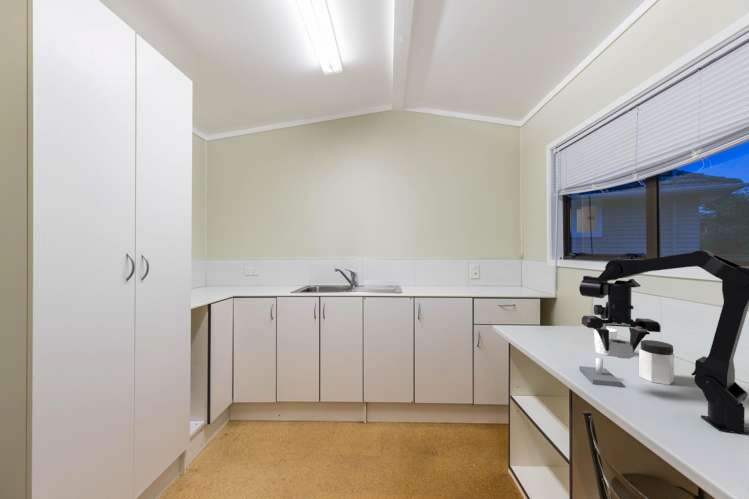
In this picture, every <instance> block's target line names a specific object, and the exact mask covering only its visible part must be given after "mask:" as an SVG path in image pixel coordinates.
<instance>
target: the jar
mask: <svg viewBox="0 0 749 499" xmlns="http://www.w3.org/2000/svg"><path fill="white" fill-rule="evenodd" d="M638 351H639V356H638V357H639V362H638V363H639V367H638V368H639V369H638V370H639V372H638V374H639V375H638V376H639V377H640V378H641V379H644V380H646V381H647V382H650V383H655V384H662V385H668V386H669V385H671V384H673V383H674V382H675V353H674V345H672V344H671V343H667V342H664V341H658V340H652V339H649V340H648V339H645V340H643V339H642V340H641V341H640V348H639V350H638Z"/></svg>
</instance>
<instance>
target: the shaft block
mask: <svg viewBox="0 0 749 499" xmlns="http://www.w3.org/2000/svg"><path fill="white" fill-rule="evenodd" d="M578 368H579V372H580V373H581V374H582V375H583V376H584V377H585V378H586V379H587V381H589V382H590V383H591V385H597V386H606V387H607V386H608V387H609V386H610V387H618V388H622V387H623V386H622V384H623V382H622V381H621V380H620V379H619V378H617V376H615V375H614V374H612V373H611V372H610V371H609V370H608V369H606V368H605V367H604V359H603V358H601V357H596V358H595V367H592V366H583V365H582V366H581V365H580V366H579V367H578Z"/></svg>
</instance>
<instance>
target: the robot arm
mask: <svg viewBox="0 0 749 499" xmlns="http://www.w3.org/2000/svg"><path fill="white" fill-rule="evenodd" d="M690 267H698V268H700V269H702V270H704V271H706V272H707V273H709V274H710V275H712V276H713V277H715V278H718V279H720V280H721V292H722V297H723V304H722V308H721V312H720V314H719V318H718V322H717V325H716V329H715V332H714V335H713V339H712V342H711V347H710V350H709V354H708V356H704V355H703V356H702V357H699V358H698V359H695V362H694V365H695V366H694V367H695V368H694V370H693V372H692V373H691V374H690V375H691V376H694V379H693V381H694V383H695V385H696V386H697V387H698V388H699V389H700V390H701V391H702V393H703V394H704V397H705V399H706V401H707V415H703V414H702V415H700V418H701V419H702V420H704V421H705V422H706V423H708V424H710V425H711V426H712V427H714V428H715V429H716V430H718V431H719V432H720V431H721V432H728V433H729V432H730V433H735V434H736V433H737V434H745V435H746V434H747V435H749V429H748V428H746V426H745V406H744V404H743V403H742V402H744V401H745V400H746V399H747V396H748V395H749V393H748V392H747V391H746V390H745V389H744V388H743V387H741V386H740V385H739V383H737V382H736V369H735V363H734V359H735V354H736V351H737V347H738V345H739V341H740V337H741V334H742V331H743V328H744V323H745V321H746V317H747V313H748V310H749V266H746V265H745V266H744V265H743V266H741V265H740V264H738V263H735V262H733V261H731V260H729V259H726V258H723V257H721V256H718V255H717V254H715V253H713V252H711V251H709V250H696V251H693V252H686V253H679V254H674V255H673V254H672V255H666V256H659V257H658V256H657V257H652V258H644V259H612V260H609V261H607V263H606V264H605V268H604V270H603V271H602V273H600V275H599V276H592V275H584V276H582V280H581V282H580V285H579V288H578V289H579V292H580V295H581V296H583V297H589V298H596V299H604V298H605V297H606V296H607V301H606V302H605V306H603V304H594V305H593V314H594V315H583V316H582V317H581V325H583V326H584V327H586V328H589V329H593V330H594V329H595V330H597V332H598V334H599V335H600V338H601V340H602V343H603V346H604V348H605V350H606V351H608V348H609V330H607V329H606V328H607V327H609V326H610V327H622V328H628V329H629V333H630V334H629V335H630V337H629V342H631V343H632V344H633V353H634V352H635V351H636V349H637V348H638V346H639V345H640V344H641V341H642V340H643V339H644V338H645V337H646V336H647V335H651V333H661V331H662V327H661V324H660V323H659V321H656V320H655V319H650V318H640V317H639V318H638V317H637V318H635V320H634V319H632V310H634V305H632V289H633V288H640V287H641V283H638V282H637V281H636V280H635V279H634V278H632V277H635V276H639V275H642V274H645V273H648V272H656V271H663V270H664V271H665V270H673V269H674V270H675V269H683V268H690ZM628 278H630V279H628ZM621 279H628V280H621ZM610 281H614V282H610ZM598 316H600V317H598Z"/></svg>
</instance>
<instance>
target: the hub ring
mask: <svg viewBox="0 0 749 499" xmlns="http://www.w3.org/2000/svg"><path fill="white" fill-rule="evenodd" d="M605 353H607V354H608V355H610V356H611V357H614V358H616V359H617V358H619V359H627V360H629V359H631V358H634V352H633V344H632V343H631V342H630V340H623V339H620V338H617V339H609V348H608V351H606V350H605ZM610 356H609V357H610Z"/></svg>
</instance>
